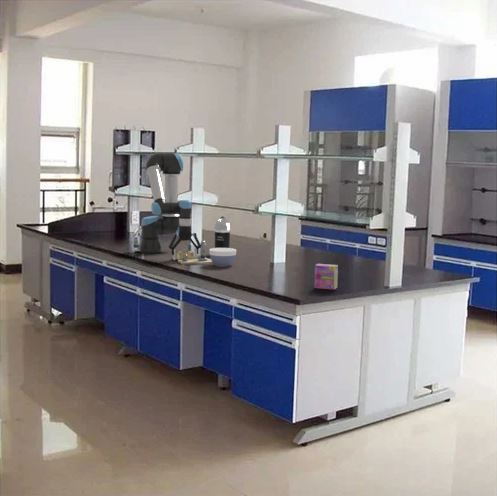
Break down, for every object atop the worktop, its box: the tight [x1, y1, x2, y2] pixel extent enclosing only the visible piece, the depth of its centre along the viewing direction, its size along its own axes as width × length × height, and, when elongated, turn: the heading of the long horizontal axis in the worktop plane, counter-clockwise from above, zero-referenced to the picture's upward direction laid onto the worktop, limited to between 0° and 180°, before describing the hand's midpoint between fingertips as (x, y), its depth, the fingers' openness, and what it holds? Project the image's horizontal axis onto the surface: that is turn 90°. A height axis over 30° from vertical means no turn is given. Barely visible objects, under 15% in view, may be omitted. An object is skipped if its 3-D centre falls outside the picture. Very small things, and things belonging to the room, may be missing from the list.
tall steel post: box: [198, 240, 208, 261], centre depth 429 cm, size 5×5×12 cm
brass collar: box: [176, 250, 194, 261], centre depth 438 cm, size 8×8×5 cm
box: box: [314, 263, 339, 290], centre depth 356 cm, size 10×6×12 cm, turn 66°
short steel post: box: [183, 254, 188, 262], centre depth 426 cm, size 3×3×4 cm
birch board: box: [177, 258, 215, 266], centre depth 428 cm, size 12×20×1 cm, turn 110°
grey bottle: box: [214, 216, 231, 248], centre depth 460 cm, size 10×10×25 cm
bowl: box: [209, 247, 237, 268], centre depth 419 cm, size 16×16×10 cm
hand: (185, 259), depth 438 cm, fingers open, 13 cm apart
